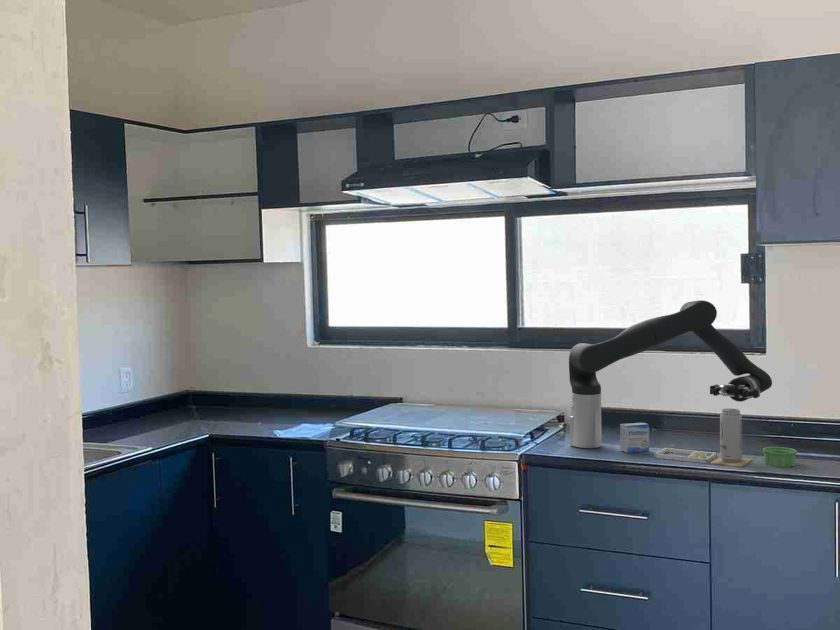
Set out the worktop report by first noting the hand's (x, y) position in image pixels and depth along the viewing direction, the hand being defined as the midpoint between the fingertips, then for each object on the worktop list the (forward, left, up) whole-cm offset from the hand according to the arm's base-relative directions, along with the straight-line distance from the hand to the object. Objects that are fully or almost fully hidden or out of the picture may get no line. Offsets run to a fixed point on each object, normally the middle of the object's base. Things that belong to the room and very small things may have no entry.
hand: (728, 393), depth 254 cm
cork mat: (+4, -11, -19) cm, 22 cm away
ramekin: (+16, -7, -19) cm, 26 cm away
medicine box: (-26, -10, -19) cm, 34 cm away
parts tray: (-10, -11, -19) cm, 24 cm away
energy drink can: (+3, -11, -18) cm, 22 cm away
